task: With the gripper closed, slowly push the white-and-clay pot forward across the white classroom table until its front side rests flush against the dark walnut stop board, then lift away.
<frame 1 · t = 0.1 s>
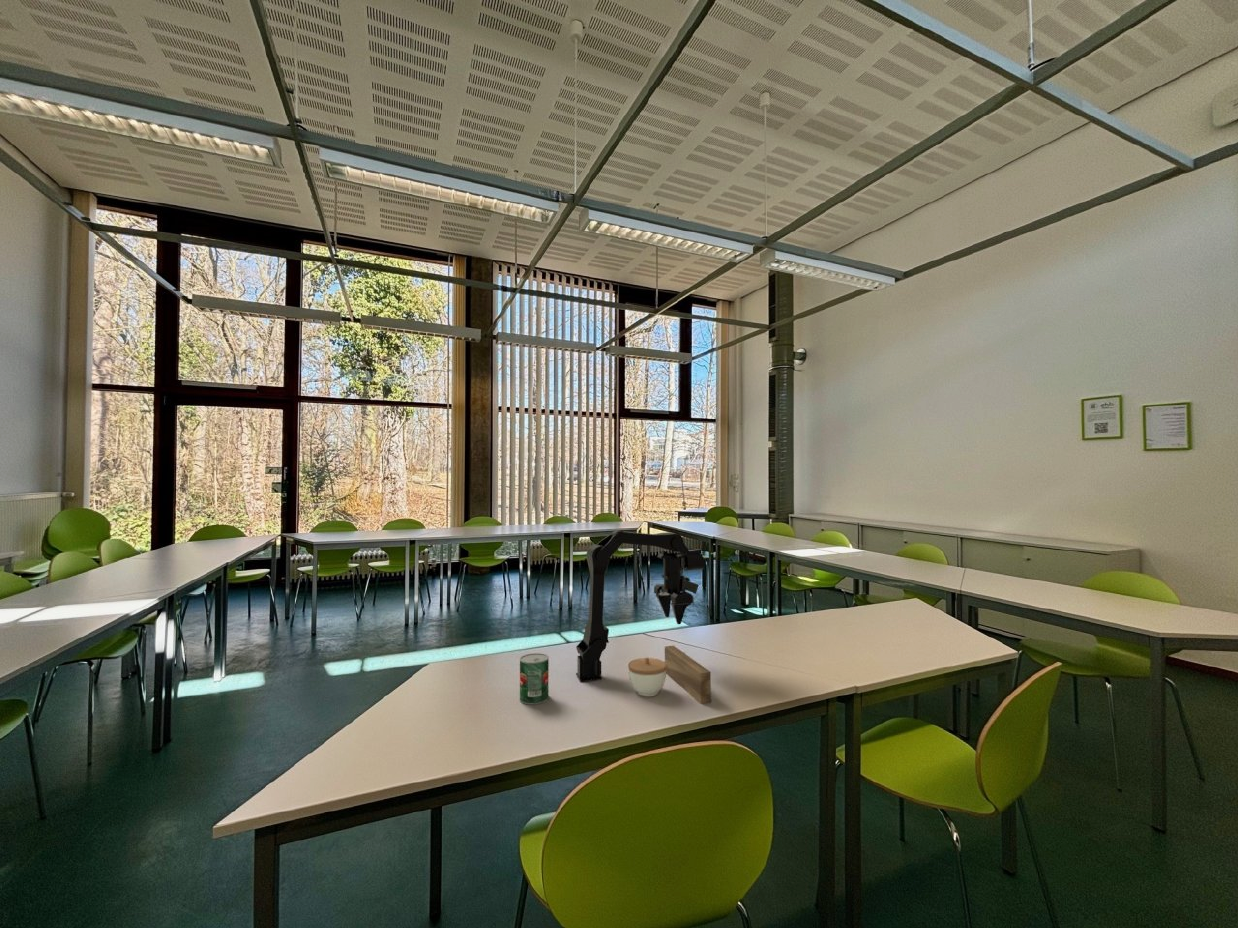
hand: (673, 620, 162), 15 cm above the table, fingers open, 9 cm apart
lidded jar: (647, 692, 141), on the table
canned tomato: (534, 699, 137), on the table
walnut board: (686, 686, 145), on the table
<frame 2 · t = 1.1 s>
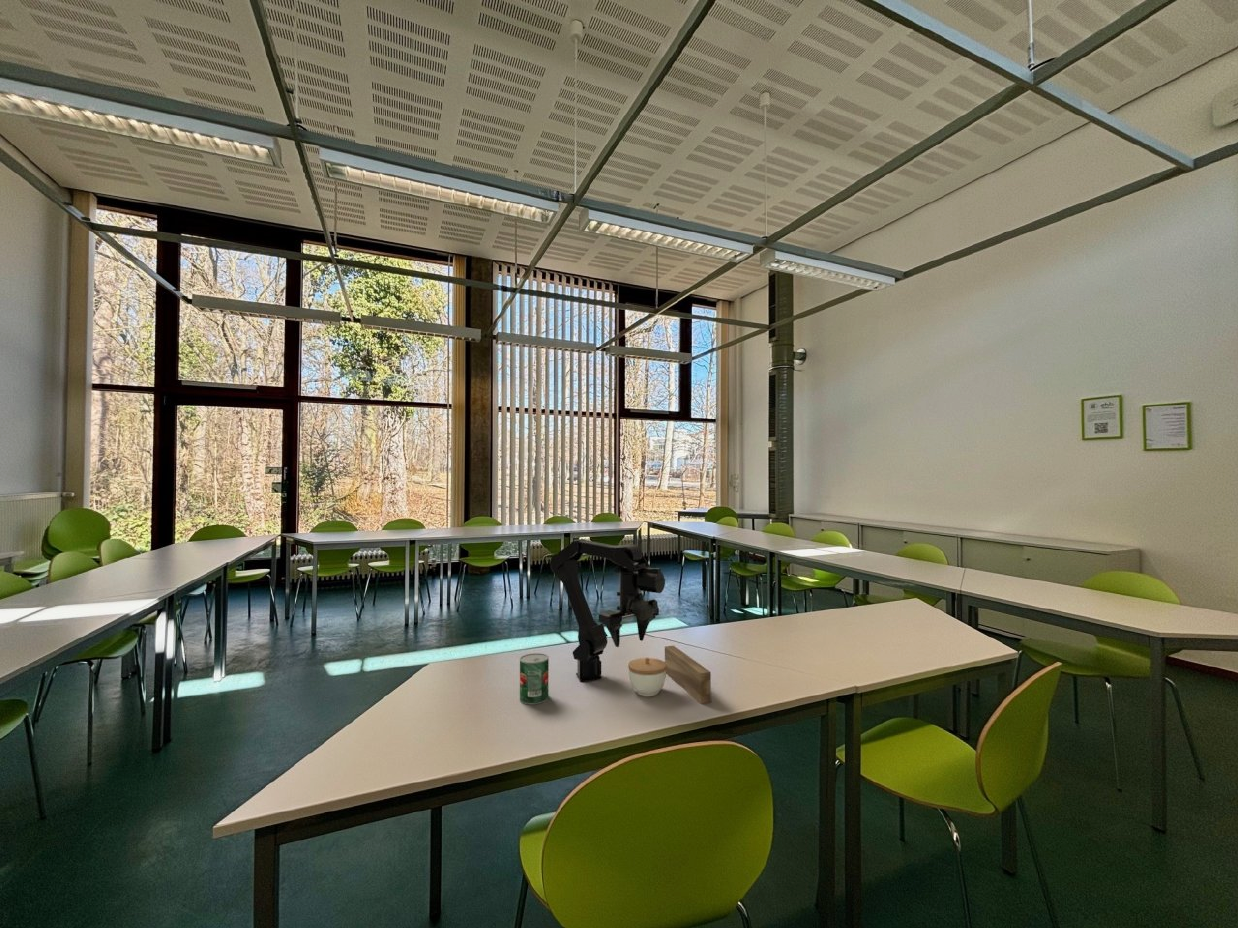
hand: (629, 643, 145), 13 cm above the table, fingers open, 9 cm apart
nothing on the table moved.
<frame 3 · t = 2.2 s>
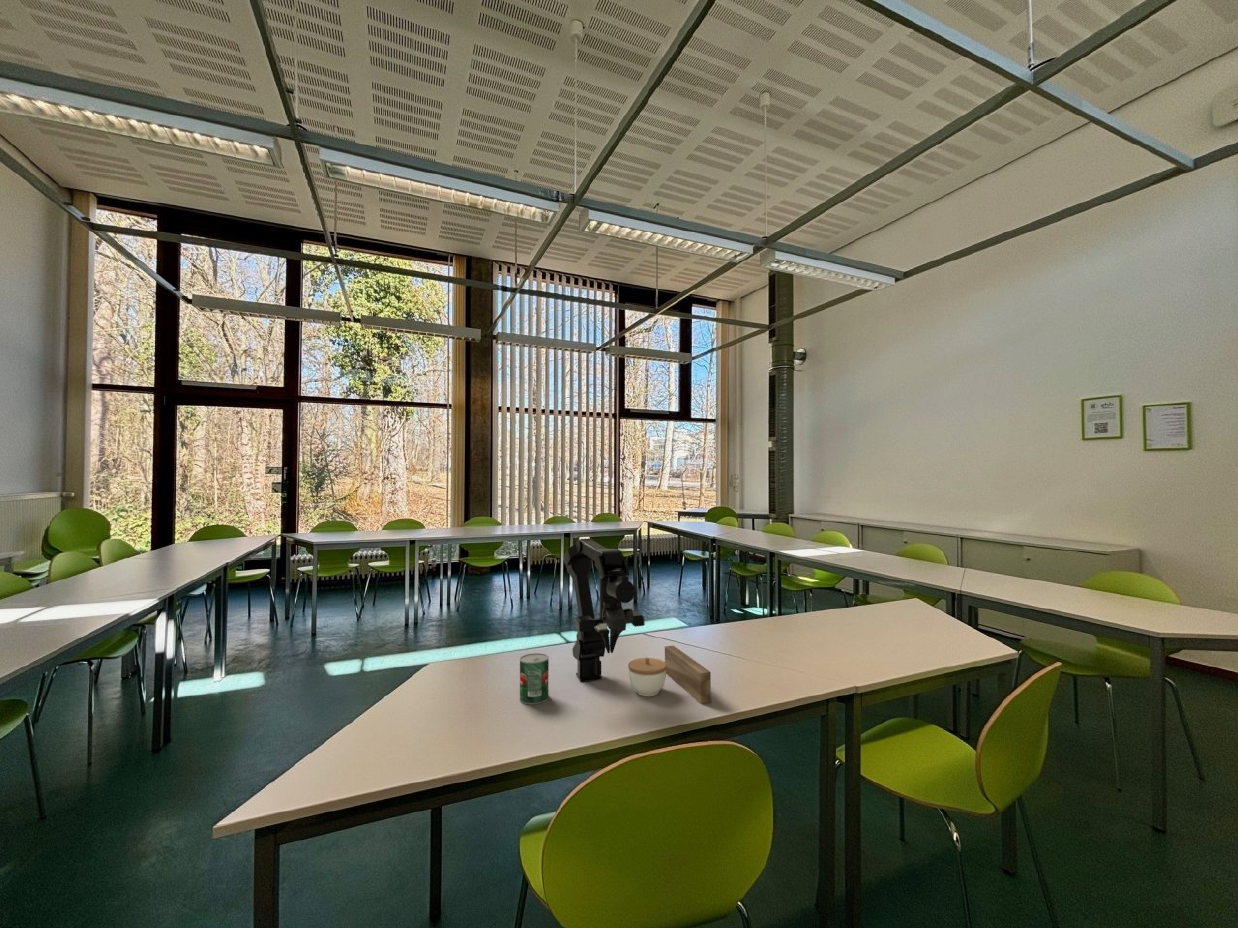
hand: (610, 652, 138), 12 cm above the table, fingers closed
nothing on the table moved.
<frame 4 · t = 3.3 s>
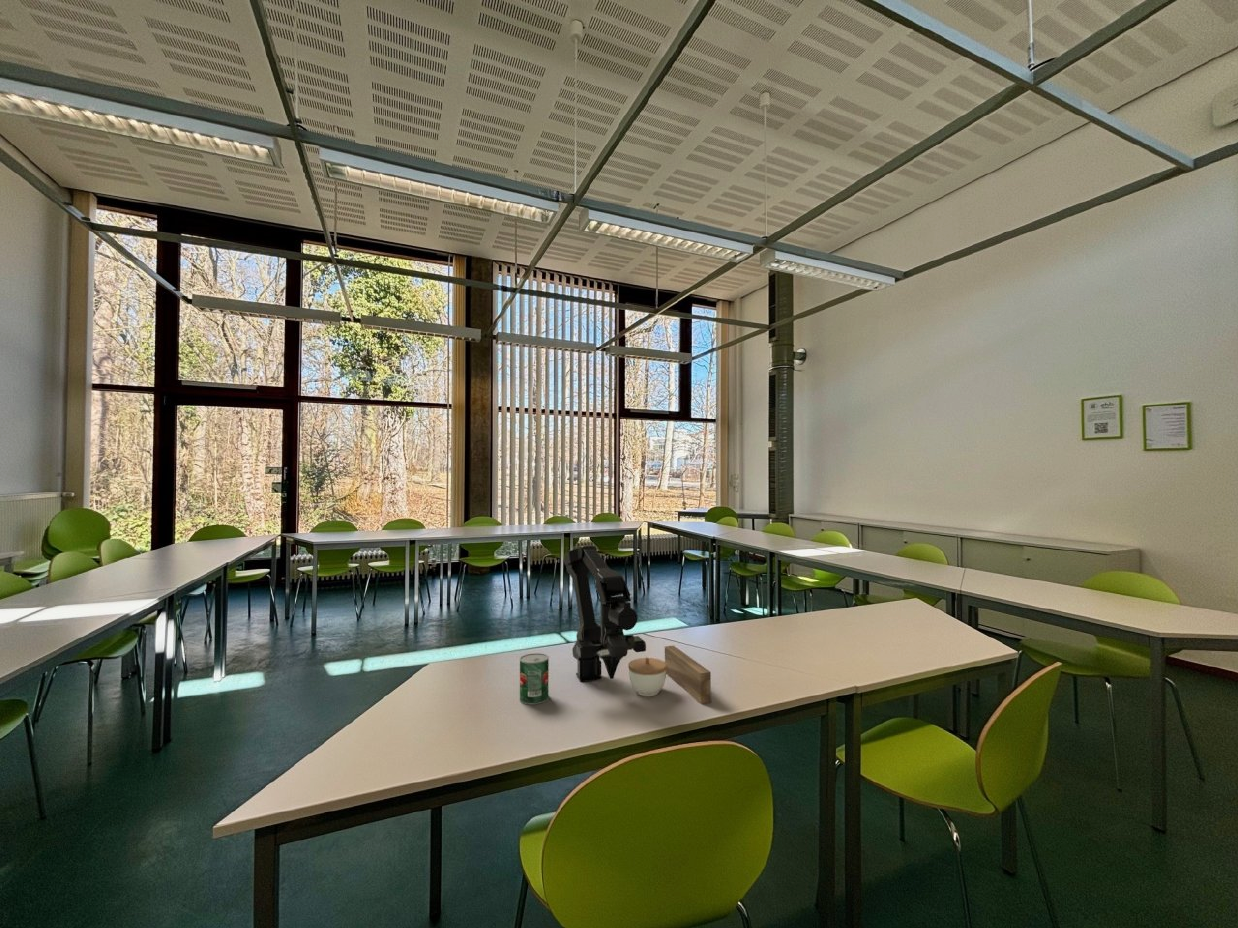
hand: (611, 678, 138), 5 cm above the table, fingers closed
nothing on the table moved.
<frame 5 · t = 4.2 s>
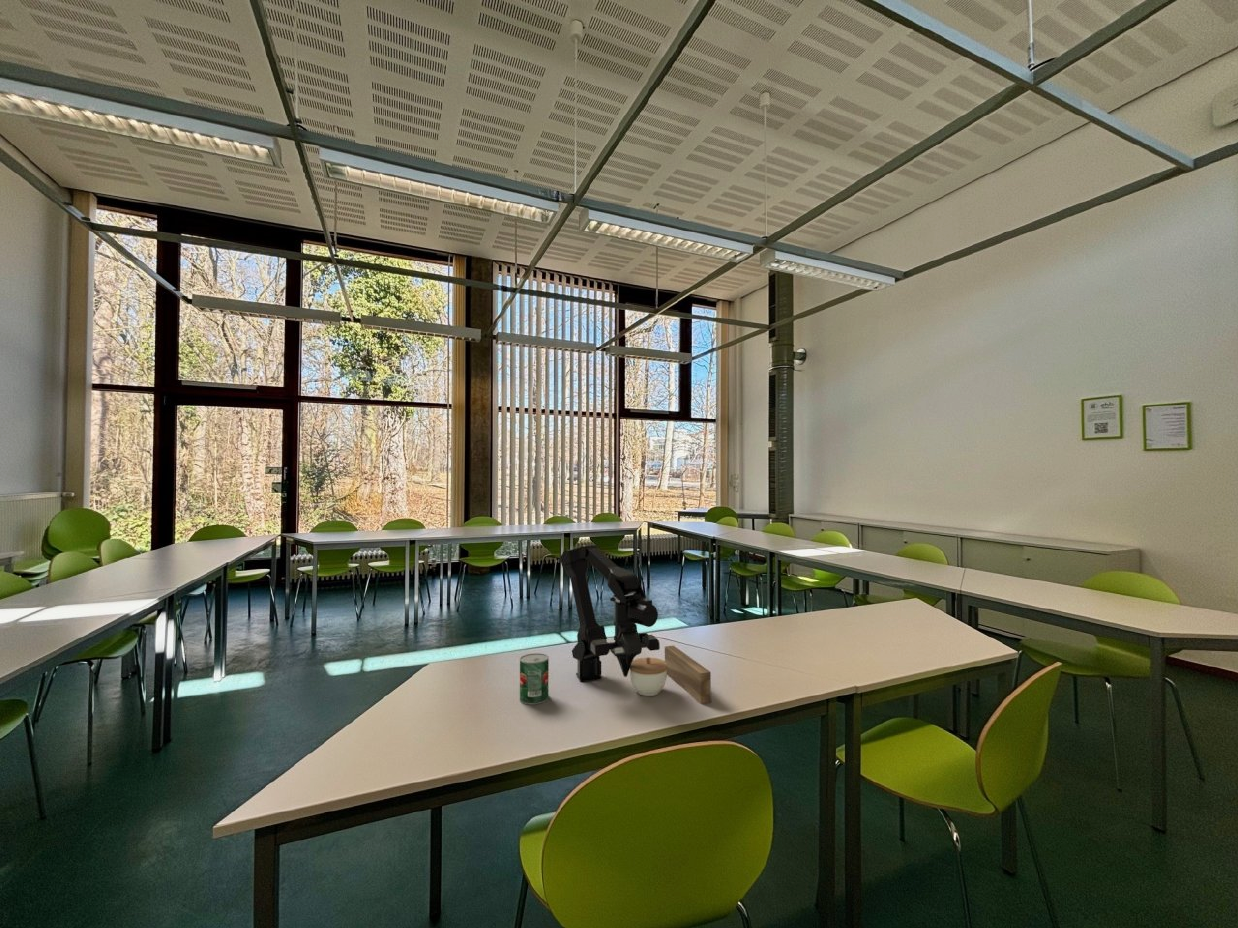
hand: (625, 676, 139), 5 cm above the table, fingers closed
lidded jar: (648, 692, 141), on the table, touching gripper
everything else where it was.
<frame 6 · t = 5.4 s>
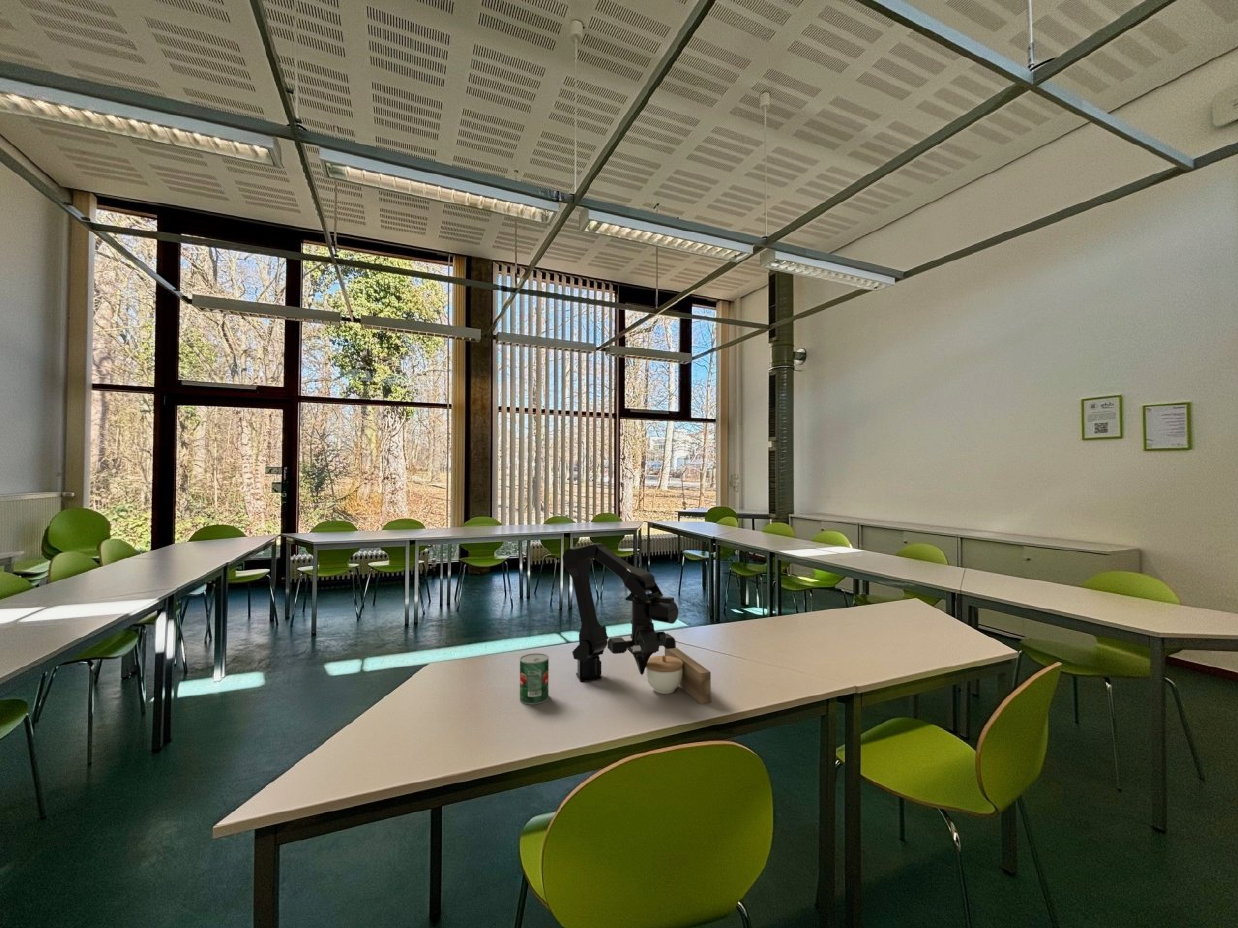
hand: (641, 674, 141), 5 cm above the table, fingers closed
lidded jar: (664, 690, 143), on the table, touching gripper, walnut board
everything else where it was.
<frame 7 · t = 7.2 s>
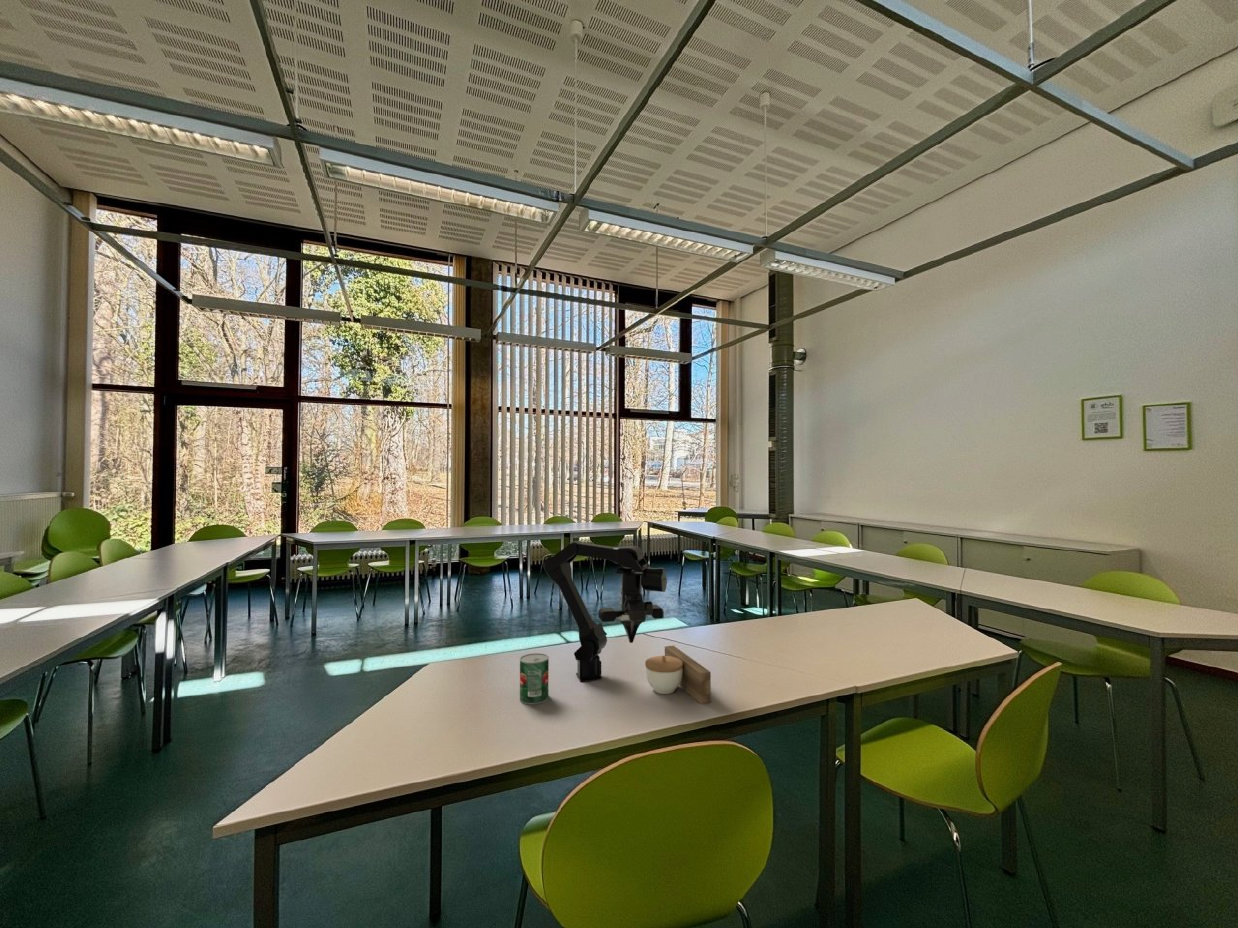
hand: (630, 642, 148), 12 cm above the table, fingers closed
lidded jar: (664, 690, 143), on the table
everything else where it was.
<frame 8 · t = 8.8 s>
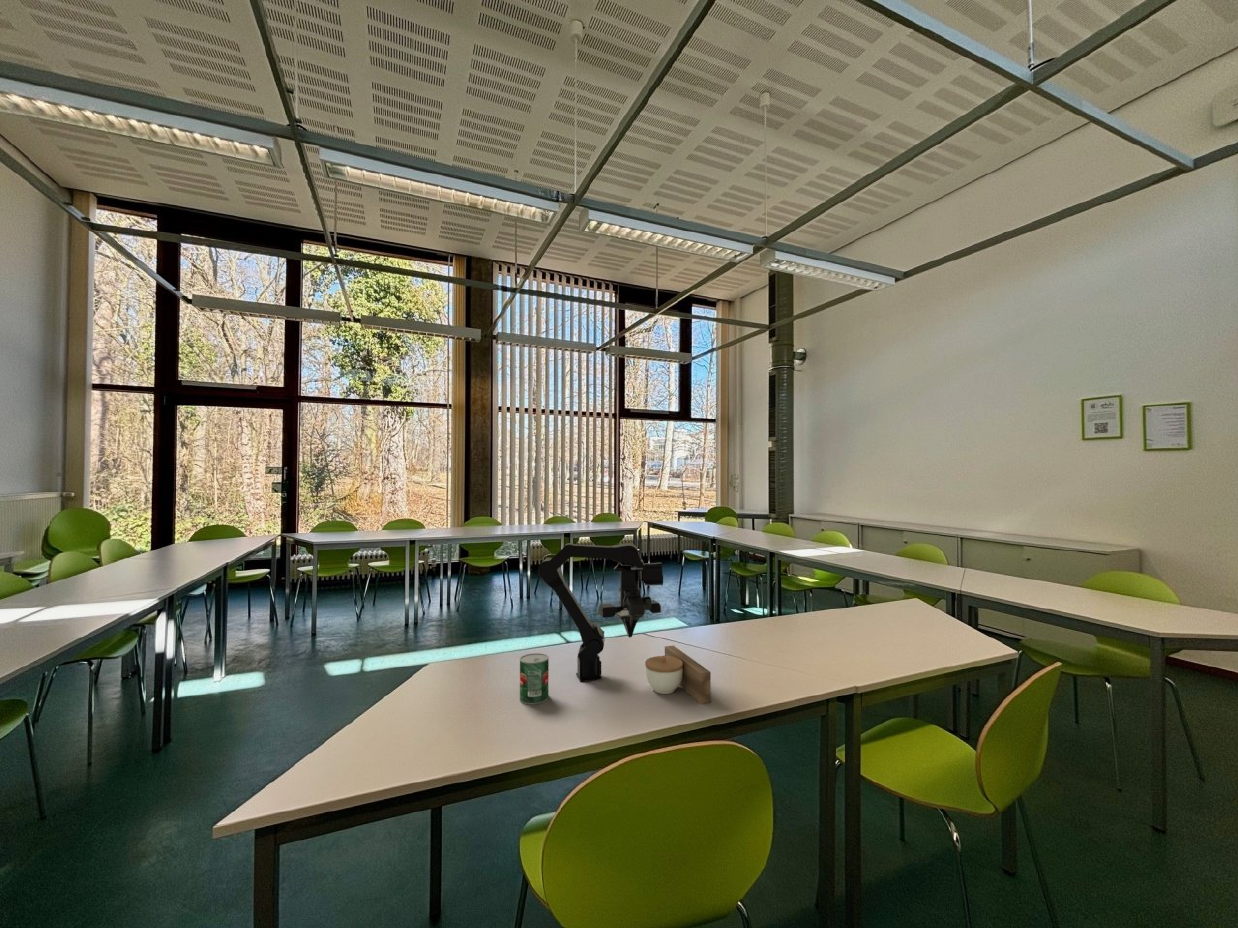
hand: (629, 636, 153), 12 cm above the table, fingers closed
nothing on the table moved.
at the end: lidded jar inside the target area on the table beside the walnut board (0.6 cm from its centre), on the table; lidded jar tilted 0° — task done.
